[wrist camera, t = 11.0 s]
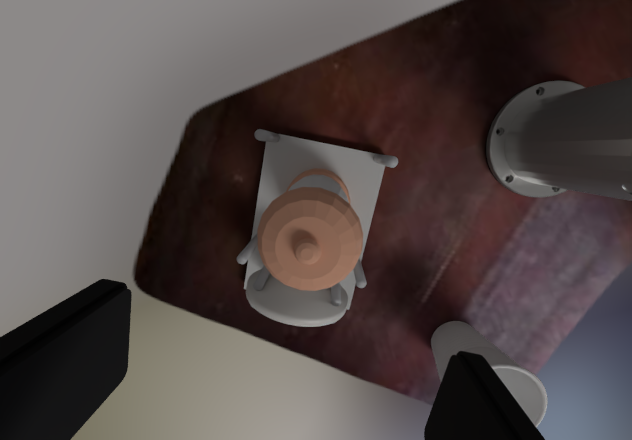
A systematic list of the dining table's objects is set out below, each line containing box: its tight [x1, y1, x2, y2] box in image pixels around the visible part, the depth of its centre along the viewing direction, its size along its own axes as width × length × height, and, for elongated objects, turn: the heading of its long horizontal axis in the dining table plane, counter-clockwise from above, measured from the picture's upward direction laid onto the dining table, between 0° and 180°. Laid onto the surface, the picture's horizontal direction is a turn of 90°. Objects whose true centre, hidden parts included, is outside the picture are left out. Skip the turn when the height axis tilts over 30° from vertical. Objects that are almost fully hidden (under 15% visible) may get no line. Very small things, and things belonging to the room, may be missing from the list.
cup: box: [431, 321, 547, 427], centre depth 35 cm, size 10×10×11 cm
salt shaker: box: [257, 168, 363, 291], centre depth 26 cm, size 7×7×19 cm
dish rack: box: [237, 129, 398, 327], centre depth 32 cm, size 14×20×12 cm
